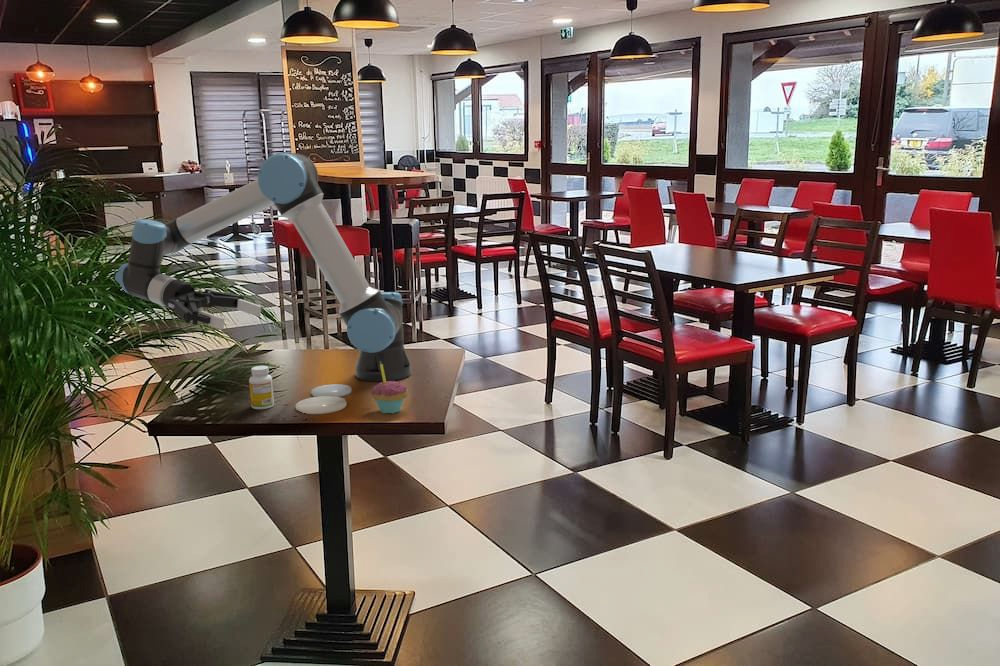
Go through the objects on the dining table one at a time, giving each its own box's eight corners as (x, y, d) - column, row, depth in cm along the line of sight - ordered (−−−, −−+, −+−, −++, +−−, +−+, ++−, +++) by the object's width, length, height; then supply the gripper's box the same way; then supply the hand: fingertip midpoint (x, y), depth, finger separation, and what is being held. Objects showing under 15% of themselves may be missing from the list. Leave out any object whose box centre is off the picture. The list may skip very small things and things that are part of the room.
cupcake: (368, 415, 189) (365, 365, 186) (378, 404, 197) (375, 356, 195) (403, 416, 188) (401, 366, 185) (412, 405, 196) (410, 357, 193)
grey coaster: (343, 385, 214) (343, 382, 214) (357, 394, 206) (357, 391, 206) (306, 391, 209) (306, 388, 209) (318, 400, 201) (318, 397, 201)
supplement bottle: (256, 402, 200) (253, 364, 198) (277, 403, 199) (274, 364, 197) (247, 409, 195) (244, 370, 193) (269, 410, 194) (266, 370, 192)
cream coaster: (336, 396, 204) (336, 393, 204) (353, 408, 194) (353, 405, 194) (289, 404, 198) (289, 401, 198) (304, 417, 188) (304, 414, 188)
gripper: (206, 297, 214) (272, 320, 208) (132, 318, 192) (204, 344, 185) (208, 270, 212) (275, 292, 205) (134, 288, 189) (207, 314, 183)
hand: (242, 317), depth 195 cm, fingers open, 13 cm apart
